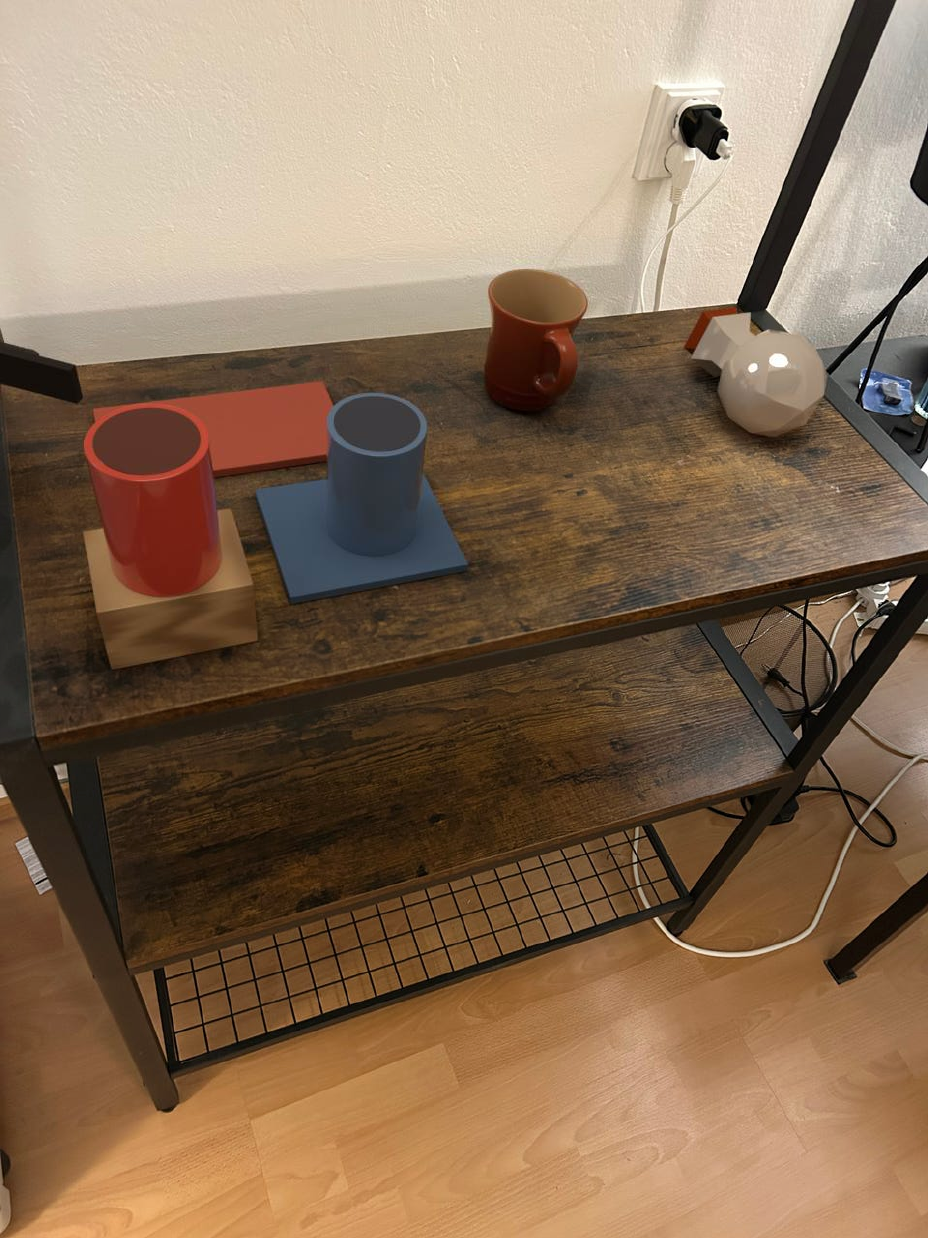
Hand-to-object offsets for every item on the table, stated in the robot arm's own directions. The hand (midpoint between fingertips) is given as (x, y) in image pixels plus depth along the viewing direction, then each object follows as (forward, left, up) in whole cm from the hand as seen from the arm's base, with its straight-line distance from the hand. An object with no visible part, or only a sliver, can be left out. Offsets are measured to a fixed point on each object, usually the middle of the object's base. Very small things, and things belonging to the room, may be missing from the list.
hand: (22, 445), depth 61 cm
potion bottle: (+63, +8, -13) cm, 64 cm away
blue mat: (+22, 0, -13) cm, 26 cm away
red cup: (+7, -5, -7) cm, 11 cm away
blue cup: (+23, 0, -12) cm, 26 cm away
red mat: (+14, +14, -13) cm, 23 cm away
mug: (+42, +13, -13) cm, 46 cm away
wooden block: (+7, -5, -13) cm, 16 cm away
